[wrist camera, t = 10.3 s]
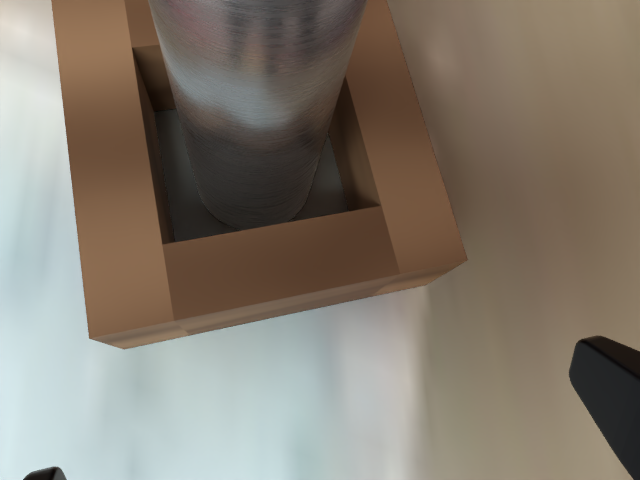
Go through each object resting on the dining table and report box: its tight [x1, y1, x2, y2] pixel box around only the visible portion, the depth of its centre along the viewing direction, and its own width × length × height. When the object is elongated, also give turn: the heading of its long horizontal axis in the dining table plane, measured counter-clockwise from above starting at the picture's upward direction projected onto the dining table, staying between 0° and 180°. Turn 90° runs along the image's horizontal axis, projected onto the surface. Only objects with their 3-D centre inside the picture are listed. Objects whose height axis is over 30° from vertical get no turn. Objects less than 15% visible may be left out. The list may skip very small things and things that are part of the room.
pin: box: [148, 0, 368, 230], centre depth 11 cm, size 4×4×13 cm
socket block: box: [51, 0, 467, 349], centre depth 16 cm, size 10×10×4 cm
